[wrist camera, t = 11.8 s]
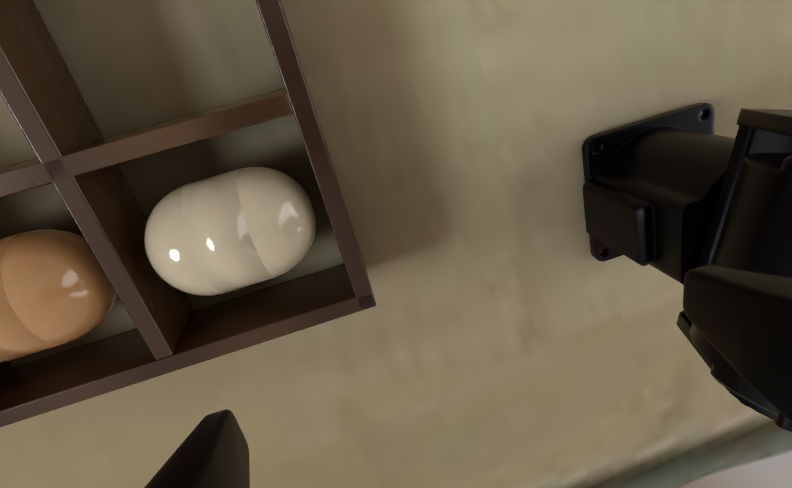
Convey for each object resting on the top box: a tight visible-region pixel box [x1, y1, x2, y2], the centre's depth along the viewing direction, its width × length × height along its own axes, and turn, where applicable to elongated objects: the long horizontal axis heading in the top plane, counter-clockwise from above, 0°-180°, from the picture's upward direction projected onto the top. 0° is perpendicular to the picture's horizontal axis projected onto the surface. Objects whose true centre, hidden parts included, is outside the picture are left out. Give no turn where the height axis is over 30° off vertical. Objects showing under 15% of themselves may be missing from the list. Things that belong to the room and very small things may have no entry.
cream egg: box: [144, 167, 316, 296], centre depth 18 cm, size 6×4×4 cm
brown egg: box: [0, 229, 117, 362], centre depth 17 cm, size 6×4×4 cm
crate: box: [0, 0, 376, 427], centre depth 16 cm, size 17×17×4 cm
